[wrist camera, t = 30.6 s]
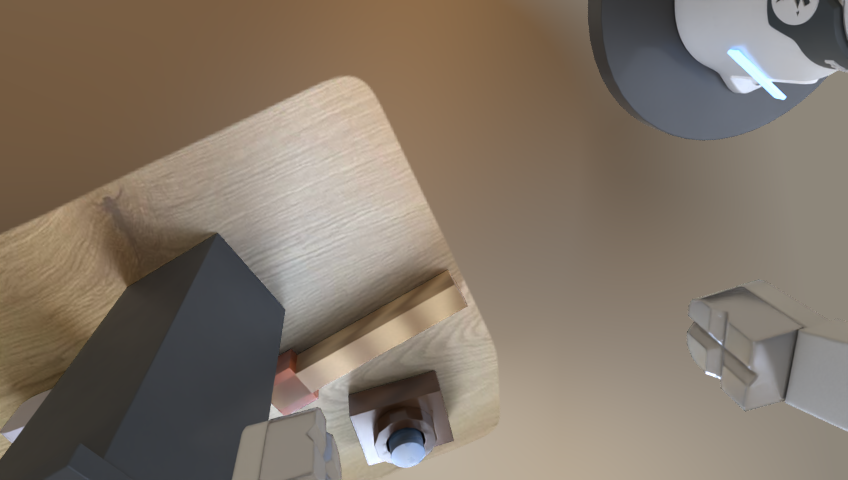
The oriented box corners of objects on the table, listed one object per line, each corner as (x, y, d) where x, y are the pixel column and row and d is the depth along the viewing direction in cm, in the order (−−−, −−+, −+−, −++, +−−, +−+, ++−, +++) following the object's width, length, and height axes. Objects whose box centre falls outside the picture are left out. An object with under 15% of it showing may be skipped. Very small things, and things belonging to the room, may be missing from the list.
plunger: (418, 423, 51) (421, 438, 49) (425, 446, 52) (428, 461, 51) (385, 432, 51) (387, 448, 49) (393, 455, 52) (395, 471, 50)
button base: (435, 370, 54) (444, 402, 50) (448, 419, 58) (457, 454, 53) (348, 394, 54) (349, 429, 49) (366, 443, 57) (369, 480, 53)
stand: (211, 216, 42) (66, 465, 19) (299, 317, 48) (268, 601, 25) (109, 278, 43) (-148, 588, 20) (207, 370, 49) (97, 692, 26)
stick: (443, 262, 48) (449, 276, 46) (465, 297, 51) (472, 313, 48) (258, 366, 50) (254, 387, 47) (287, 396, 52) (285, 417, 50)
